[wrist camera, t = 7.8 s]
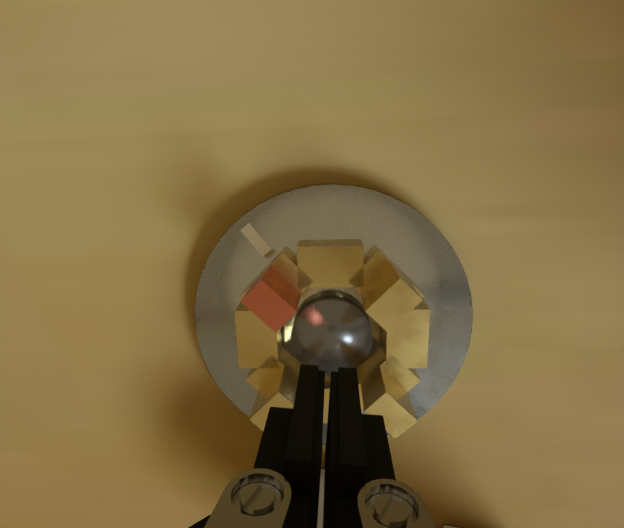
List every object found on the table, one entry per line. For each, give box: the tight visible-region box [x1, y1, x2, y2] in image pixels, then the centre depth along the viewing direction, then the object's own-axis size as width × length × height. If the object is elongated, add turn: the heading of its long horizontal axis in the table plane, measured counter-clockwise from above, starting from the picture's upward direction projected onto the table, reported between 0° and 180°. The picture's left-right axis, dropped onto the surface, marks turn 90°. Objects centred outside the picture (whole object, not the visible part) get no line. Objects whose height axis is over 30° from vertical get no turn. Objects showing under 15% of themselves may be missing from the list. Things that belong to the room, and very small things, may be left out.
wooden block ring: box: [235, 239, 430, 439], centre depth 29 cm, size 14×14×6 cm
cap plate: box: [195, 184, 473, 444], centre depth 31 cm, size 22×22×4 cm
